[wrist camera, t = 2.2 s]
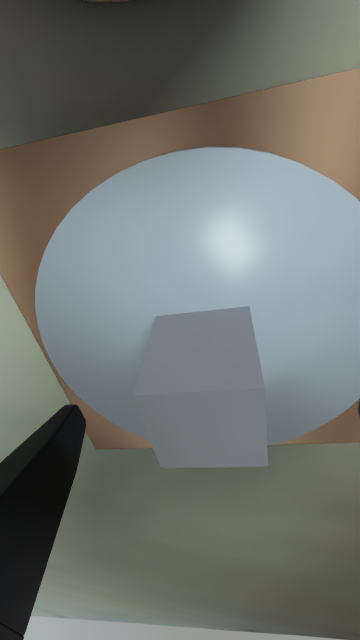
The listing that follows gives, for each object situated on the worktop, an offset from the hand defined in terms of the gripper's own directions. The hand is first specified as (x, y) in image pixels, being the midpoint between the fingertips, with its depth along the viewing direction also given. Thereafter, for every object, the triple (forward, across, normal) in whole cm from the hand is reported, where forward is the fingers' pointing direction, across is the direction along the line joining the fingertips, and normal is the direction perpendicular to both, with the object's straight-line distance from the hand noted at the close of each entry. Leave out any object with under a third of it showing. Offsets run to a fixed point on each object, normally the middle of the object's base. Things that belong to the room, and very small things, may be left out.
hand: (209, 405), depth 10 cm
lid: (+4, 0, 0) cm, 4 cm away
